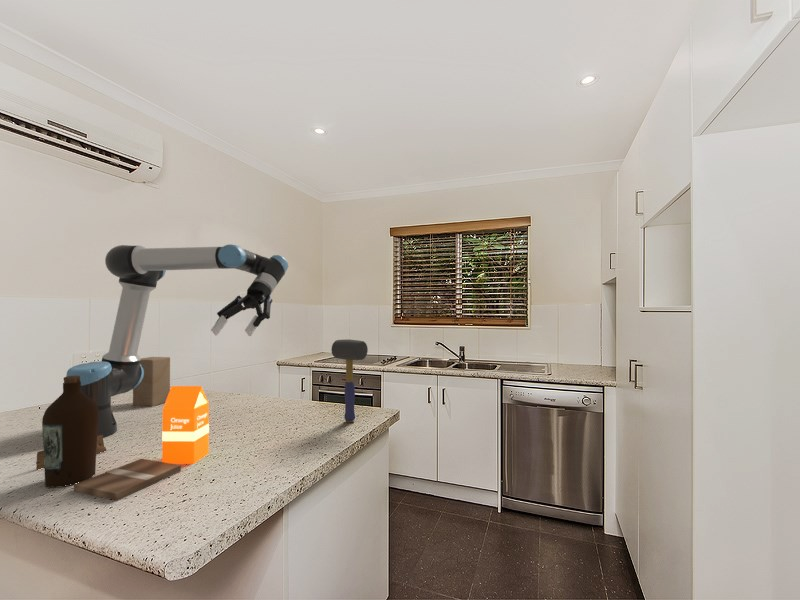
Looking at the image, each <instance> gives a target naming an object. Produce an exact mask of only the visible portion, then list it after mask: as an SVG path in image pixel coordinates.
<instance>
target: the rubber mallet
mask: <svg viewBox="0 0 800 600" xmlns="http://www.w3.org/2000/svg"><path fill="white" fill-rule="evenodd" d="M368 352H369V350H368V345H367V343H366V342H365V341H363V340H358V339H348V338H347V339H337V340H335V341H334V342H333V343H332V344H331V355H332V356H333V357H334V359H335V358H336V359H340V360H345V383H344V402H345V403H344V404H345V407H344V409H345V412H344V420H345V422H346V423H353V422H354V421H355V419H356V413H355V398H356V397H355V396H356V388H355V382H354V361H363V360H365V358H366V357H367V355H368Z"/></svg>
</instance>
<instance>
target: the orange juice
mask: <svg viewBox="0 0 800 600" xmlns="http://www.w3.org/2000/svg"><path fill="white" fill-rule="evenodd" d="M209 411H210V402H209V400H208V399H207V397H206V394H205V392H204V389H203V387H202V385H179V386H178V385H172V386H171V385H170V392H169V394H168V397H167V399H166V402H165V403H164V405H163V407H162V432H161V436H162V438H161V441H162V448H161V449H162V450H161V451H162V452H161V454H162V455H161V456H162V458H161V462H165V463H171V464H177V465H182V464H183V465H185V464H186V465H188V464H189V465H194V464H196V463H197V462H198V461H201V460H202V459H203V458H204V457H206V456H207V455H208V454H210V452H209V451H210V448H209V446H210V444H209V443H210V440H209V439H210V436H209V435H210V422H209V421H210V420H209V419H210V412H209Z"/></svg>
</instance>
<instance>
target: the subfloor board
mask: <svg viewBox="0 0 800 600" xmlns="http://www.w3.org/2000/svg"><path fill="white" fill-rule="evenodd" d="M181 466H182V464H171V463H165V462H162V461H157V460H153V459H152V460H150V459H145V458H139V459H136V460H134V461H131V462H129V463H126V464H124V465H121V466H119V467H115V468H112V469H110V470H107V471H104V472H103V473H101V474H98V475H94V476H93V477H91V478H90V479H87V480H84V481H82V482H79V483H77V484H73V492H75V491H78V492H77V493H80V492H82V493H81V494H84V493H85V494H84V495H89V494H90V495H89V496H93V495H94V496H93V497H97V498H102V497H103V499H107V500H111V499H112V500H113V501H115V502H117V501H119V500H121V499H124V498H126V497H129V496H130V495H132V494H135V493H137V492H139V491H141V490H143V489H146V488H147V487H149V486H152V485H154V484H156V483H158V482H161V481H162V479H163V480H165V479H167V478H170V477H171V476H174V475H175V474H177V473H180V472H182V467H181ZM173 474H174V475H173ZM160 480H161V481H160ZM112 500H111V501H112Z"/></svg>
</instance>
